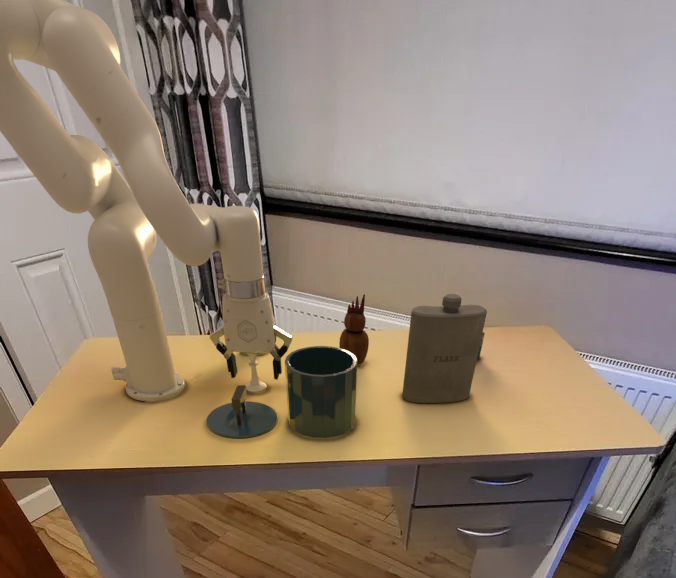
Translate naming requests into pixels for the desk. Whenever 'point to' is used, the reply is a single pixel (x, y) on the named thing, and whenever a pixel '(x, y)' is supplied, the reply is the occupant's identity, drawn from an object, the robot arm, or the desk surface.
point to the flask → (442, 351)
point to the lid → (241, 417)
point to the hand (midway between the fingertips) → (255, 376)
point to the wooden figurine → (355, 332)
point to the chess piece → (254, 375)
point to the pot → (321, 391)
